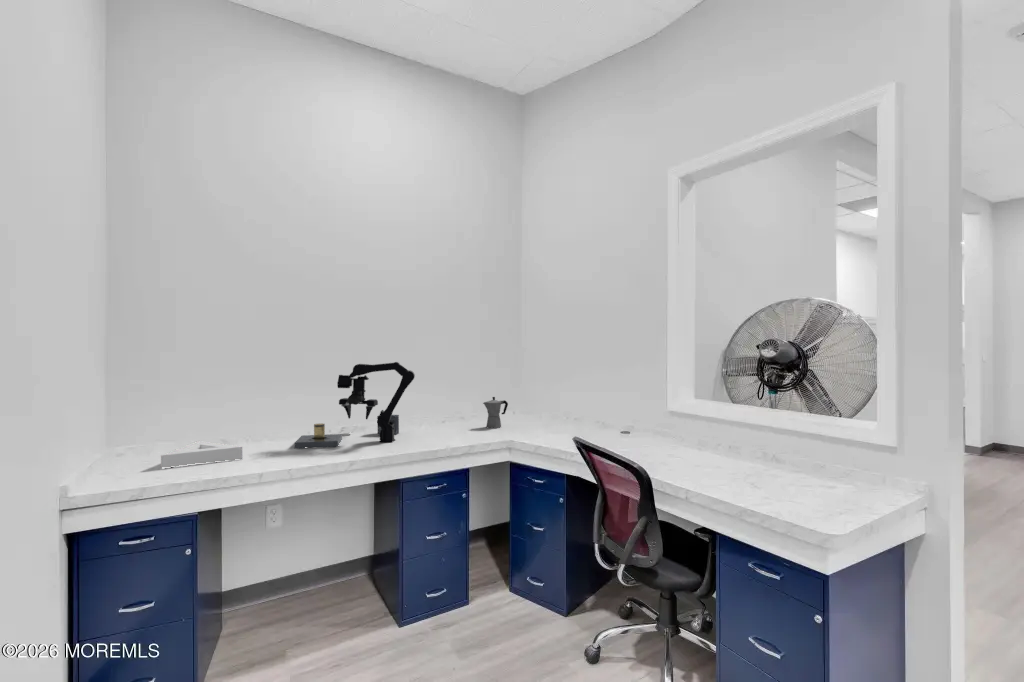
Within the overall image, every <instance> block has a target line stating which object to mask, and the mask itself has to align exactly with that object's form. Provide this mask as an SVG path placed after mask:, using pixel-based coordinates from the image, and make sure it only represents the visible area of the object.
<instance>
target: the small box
mask: <svg viewBox="0 0 1024 682" xmlns="http://www.w3.org/2000/svg"><path fill="white" fill-rule="evenodd" d="M378 416H379V415H377V417H378ZM377 417H376V418H377ZM399 417H400V415H399V414H392V416H391V419H390V421H391V422H392V423H393V424H394V425H393V428H392V429H394V436H396V435H398V434H399V433H400V425H399V423H400V422H399V421H400V419H399ZM380 432H381V427H380V426H378V425H377V434H380Z"/></svg>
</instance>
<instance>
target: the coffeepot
mask: <svg viewBox="0 0 1024 682" xmlns="http://www.w3.org/2000/svg"><path fill="white" fill-rule="evenodd" d="M482 405H484V406H485V409H486V410H487V411H486V412H487V415H488V416H487V422H486V428H487V427H488V428H487V429H501V428H502V422H501V418H500V412H501V407H502V405H504V408H503V412H501V415H505V414H506V411H507V409H508V405H509V403H508V401H506V400H498V399H497V400H496V397H495V396H492V399H491V400H488V401H484V402H482ZM500 427H501V428H500Z"/></svg>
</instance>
